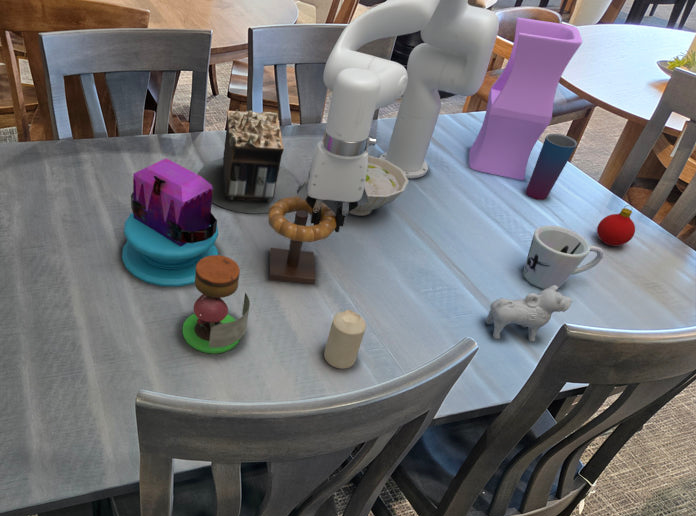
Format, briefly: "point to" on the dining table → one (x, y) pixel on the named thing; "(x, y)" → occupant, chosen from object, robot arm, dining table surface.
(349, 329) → the candle
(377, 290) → the dining table surface
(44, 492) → the dining table surface
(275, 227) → the ring
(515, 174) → the container
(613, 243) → the christmas ornament
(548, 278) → the mug
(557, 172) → the cup
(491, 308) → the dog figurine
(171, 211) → the decorative object
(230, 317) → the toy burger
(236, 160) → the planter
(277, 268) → the post
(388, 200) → the bowl
